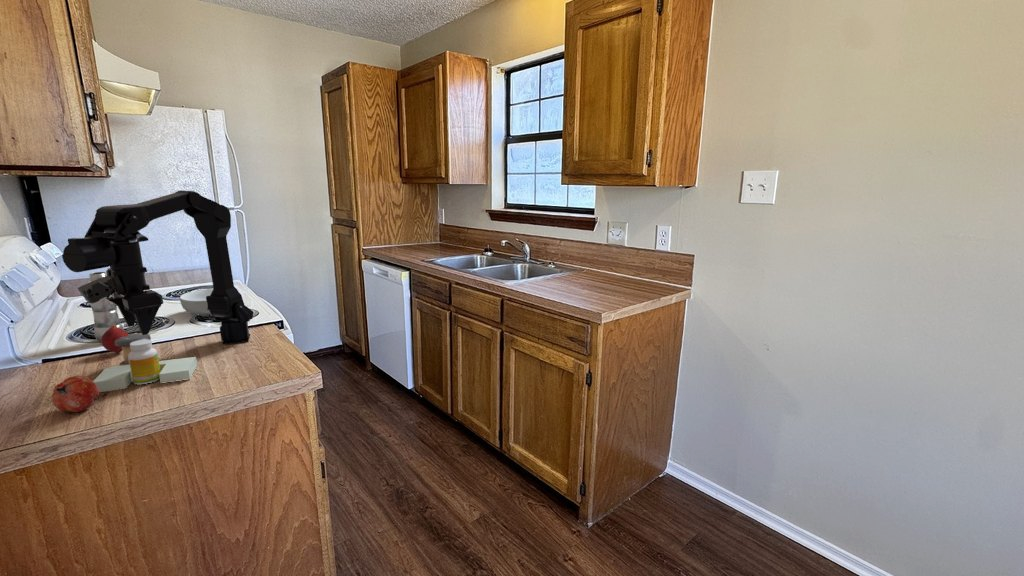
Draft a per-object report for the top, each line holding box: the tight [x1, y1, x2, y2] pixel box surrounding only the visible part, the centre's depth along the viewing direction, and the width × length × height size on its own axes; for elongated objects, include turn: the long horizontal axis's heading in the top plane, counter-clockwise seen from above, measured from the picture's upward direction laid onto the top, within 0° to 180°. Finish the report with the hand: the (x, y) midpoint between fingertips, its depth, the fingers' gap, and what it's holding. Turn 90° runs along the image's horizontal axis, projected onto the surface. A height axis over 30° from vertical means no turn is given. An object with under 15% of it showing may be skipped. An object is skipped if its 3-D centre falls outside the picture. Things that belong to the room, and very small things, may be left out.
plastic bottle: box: [88, 271, 125, 343], centre depth 132 cm, size 6×7×20 cm
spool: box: [115, 333, 152, 366], centre depth 118 cm, size 7×7×7 cm
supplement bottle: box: [128, 339, 161, 386], centre depth 109 cm, size 5×5×10 cm
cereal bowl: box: [179, 287, 213, 317], centre depth 161 cm, size 17×17×7 cm
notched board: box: [92, 356, 198, 393], centre depth 111 cm, size 18×9×2 cm, turn 114°
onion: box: [100, 325, 130, 354], centre depth 125 cm, size 6×6×8 cm
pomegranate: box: [51, 375, 100, 413], centre depth 96 cm, size 7×7×10 cm
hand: (138, 330), depth 107 cm, fingers open, 9 cm apart
